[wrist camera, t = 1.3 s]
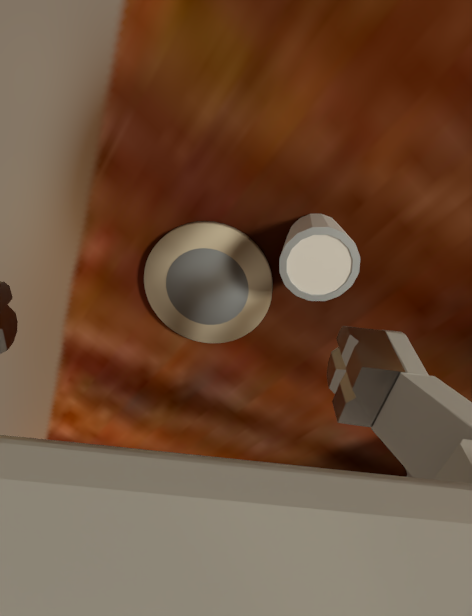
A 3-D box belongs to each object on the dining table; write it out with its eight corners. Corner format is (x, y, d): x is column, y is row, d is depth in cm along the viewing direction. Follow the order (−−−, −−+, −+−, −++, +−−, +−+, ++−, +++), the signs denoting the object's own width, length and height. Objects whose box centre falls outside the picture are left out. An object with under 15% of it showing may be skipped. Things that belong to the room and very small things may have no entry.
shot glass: (303, 284, 42) (306, 315, 36) (267, 232, 40) (263, 256, 33) (362, 249, 39) (375, 276, 33) (326, 192, 37) (334, 210, 31)
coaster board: (297, 264, 41) (298, 269, 40) (233, 356, 47) (231, 363, 46) (179, 194, 39) (176, 197, 38) (128, 300, 45) (124, 305, 44)
